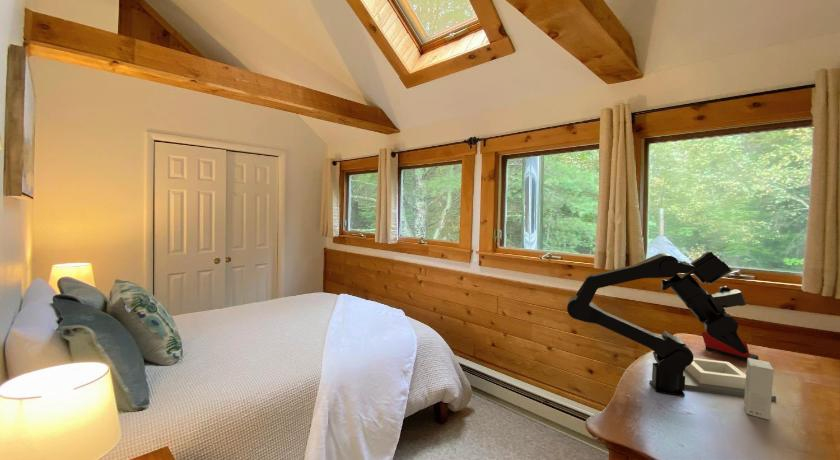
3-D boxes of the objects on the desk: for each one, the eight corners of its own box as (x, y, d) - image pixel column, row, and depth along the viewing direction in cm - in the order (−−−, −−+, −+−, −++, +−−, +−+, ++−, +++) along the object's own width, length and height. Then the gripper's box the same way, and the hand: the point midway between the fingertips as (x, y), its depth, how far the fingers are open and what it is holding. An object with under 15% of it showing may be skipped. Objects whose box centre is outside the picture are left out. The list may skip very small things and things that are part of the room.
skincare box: (770, 420, 84) (774, 370, 84) (745, 414, 87) (749, 365, 86) (766, 409, 89) (770, 361, 89) (743, 403, 92) (746, 357, 91)
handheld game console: (759, 359, 122) (761, 337, 121) (745, 365, 116) (746, 342, 116) (715, 346, 133) (716, 326, 132) (699, 351, 127) (701, 330, 127)
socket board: (684, 388, 99) (685, 373, 99) (664, 365, 114) (664, 352, 114) (775, 401, 93) (777, 385, 93) (741, 374, 109) (742, 360, 109)
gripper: (732, 282, 84) (790, 341, 79) (716, 272, 100) (763, 321, 96) (686, 308, 88) (737, 366, 84) (677, 294, 105) (720, 342, 100)
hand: (740, 347), depth 91 cm, fingers open, 9 cm apart
